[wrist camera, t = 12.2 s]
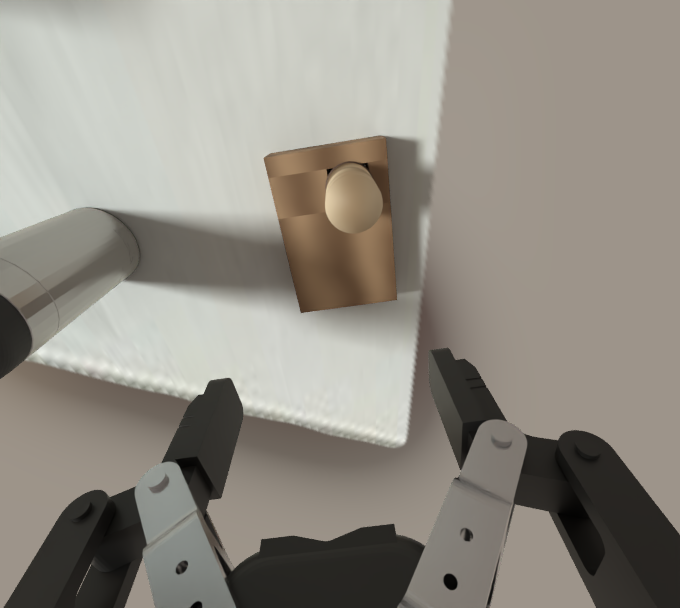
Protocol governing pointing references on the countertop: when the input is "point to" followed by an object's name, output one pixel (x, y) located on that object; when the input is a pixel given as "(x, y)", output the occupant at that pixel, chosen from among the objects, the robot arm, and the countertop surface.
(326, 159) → the board
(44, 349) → the countertop surface
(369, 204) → the peg
